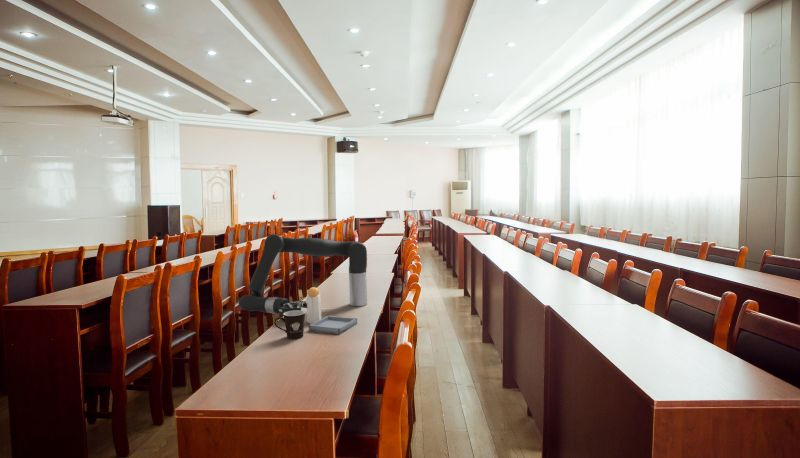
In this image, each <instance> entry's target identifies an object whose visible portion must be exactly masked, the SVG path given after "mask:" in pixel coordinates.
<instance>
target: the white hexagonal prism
mask: <svg viewBox="0 0 800 458" xmlns="http://www.w3.org/2000/svg"><path fill="white" fill-rule="evenodd" d="M321 296H322V295H321V294H319V295H318V296H317V297H309V295H308V294H307V295H306V303H307V308H306V315H307V316H306V319H307V320H306V321H307V323H308V324H312V323H314V322H316V321H318V320H320V319H322V303H321V302H322V301H321V300H322V299H321V298H322V297H321Z"/></svg>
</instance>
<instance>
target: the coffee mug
mask: <svg viewBox="0 0 800 458" xmlns="http://www.w3.org/2000/svg"><path fill="white" fill-rule="evenodd" d="M305 318H306V312H305V311H304V310H302V309H301V310H294V311H288V312H285V313H284V314H283V317H277V318H275V319H274V325H275V327H276V328H278V330H281V331H283V332H285V333H286V338H287V339H288V340H300V339H302V338H303V337H304V329H305ZM278 320H282V321H283V323H284V324H285V325H284V326H285V329H284V328H282V327H280V326H279V325H277V321H278Z"/></svg>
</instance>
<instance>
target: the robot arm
mask: <svg viewBox="0 0 800 458" xmlns="http://www.w3.org/2000/svg"><path fill="white" fill-rule="evenodd" d="M279 253H293V254H299V255H304V256H312V257H332V256H341V257H349V259H348V262H349V263H348V285H349V286H348V288H349V289H348V291H349V292H348V293H349V305H350V306H351V307H363V306H366V305H368V283H367V282H368V279H367V267H368V251H367V247H366V245H365V244H363V243H362V242H361V241H357V240H356V241H337V240H332V239H326V238H319V237H318V238H317V237H297V238H296V237H295V238H294V237H292V238H291V237H287V236H286V237H285V236H281V235H279V234H277V233H273V234H270V235H268V236H266V238H265V240H264V246H263V250H262V253H261V256H260V259H259V261H258V264H257V266H256V268H255V271H254V272H253V275H252V277H251V280H250V282H249V284H248V290H249V291H251V292H250V293H251V294H250V295H247V294H246V295H243V296H241V297H240V298H239V300H238V306H239V308H240V309H241V310H243V311H249V312H255V311H256V312H257V311H258V312H262V313H269V314H275V315H276V314H277V315H284V313H285V312H288V311H294V310H301V311H302V309H307V300H306V301H303V300H294V301H289V299H288V298H285V297H284V298H283V297H265V296H263V291H264V289H265V286H266V285H267V284H266V283H267V281H268V278H269V275H270V271H271V269H272V265H273V264H274V262H275V259H276V258H277V255H278V254H279ZM262 296H263V297H262Z"/></svg>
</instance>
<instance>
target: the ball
mask: <svg viewBox="0 0 800 458" xmlns="http://www.w3.org/2000/svg"><path fill="white" fill-rule="evenodd" d="M308 295H309V297H317V296H318V295H320V291H319V289H318V288H317V287H315V286H314V287H310V288H309V289H308V290H307V296H308Z"/></svg>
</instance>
